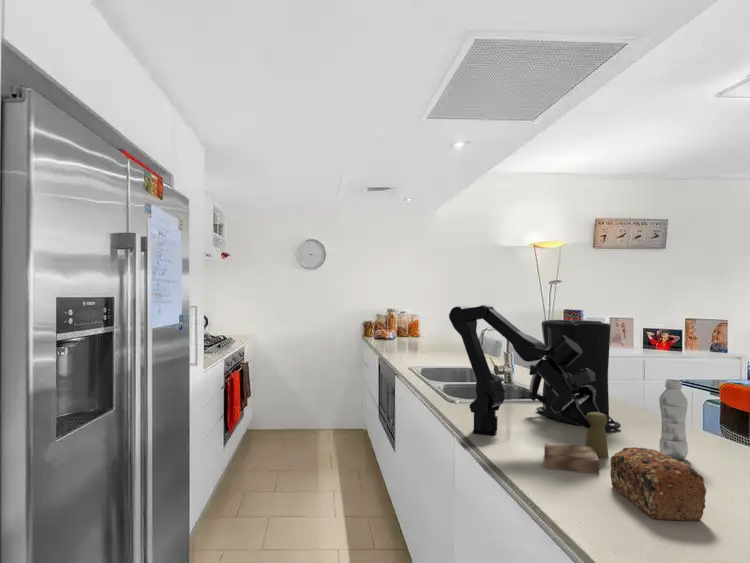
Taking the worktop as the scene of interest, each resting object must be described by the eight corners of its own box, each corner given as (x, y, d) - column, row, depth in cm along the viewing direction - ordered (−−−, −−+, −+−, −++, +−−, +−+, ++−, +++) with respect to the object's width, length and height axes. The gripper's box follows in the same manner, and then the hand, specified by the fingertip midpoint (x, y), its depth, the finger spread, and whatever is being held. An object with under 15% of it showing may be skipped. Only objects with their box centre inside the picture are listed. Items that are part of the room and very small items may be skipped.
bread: (707, 523, 100) (707, 468, 100) (649, 521, 100) (649, 467, 101) (656, 487, 119) (657, 441, 119) (607, 486, 119) (608, 440, 119)
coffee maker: (561, 407, 204) (562, 317, 205) (646, 425, 177) (646, 321, 178) (521, 414, 191) (522, 318, 192) (606, 434, 164) (607, 322, 165)
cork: (611, 459, 139) (611, 415, 139) (586, 457, 140) (586, 414, 140) (606, 452, 145) (606, 411, 145) (582, 450, 146) (582, 409, 146)
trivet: (545, 467, 131) (545, 454, 131) (544, 454, 142) (544, 441, 142) (599, 473, 127) (599, 459, 127) (593, 458, 139) (593, 446, 139)
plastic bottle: (678, 463, 136) (678, 383, 137) (653, 455, 142) (653, 379, 143) (693, 460, 139) (694, 381, 140) (669, 453, 145) (669, 377, 146)
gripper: (562, 361, 139) (606, 411, 132) (588, 356, 153) (630, 400, 146) (533, 388, 144) (574, 437, 137) (561, 381, 158) (600, 425, 151)
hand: (596, 424), depth 142 cm, fingers open, 9 cm apart
